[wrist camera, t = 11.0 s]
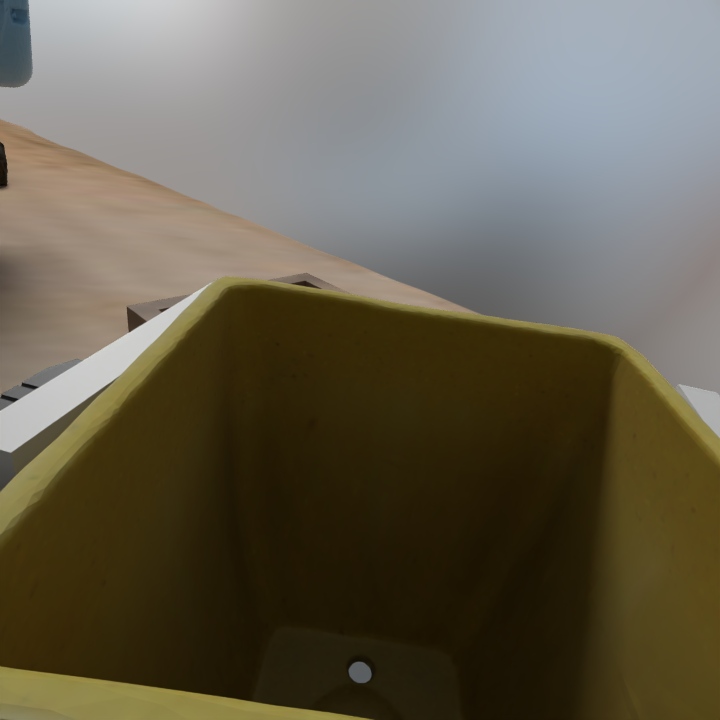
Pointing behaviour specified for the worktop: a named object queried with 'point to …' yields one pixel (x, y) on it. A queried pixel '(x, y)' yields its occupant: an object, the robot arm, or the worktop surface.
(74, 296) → the worktop surface
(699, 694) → the flower pot
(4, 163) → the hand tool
